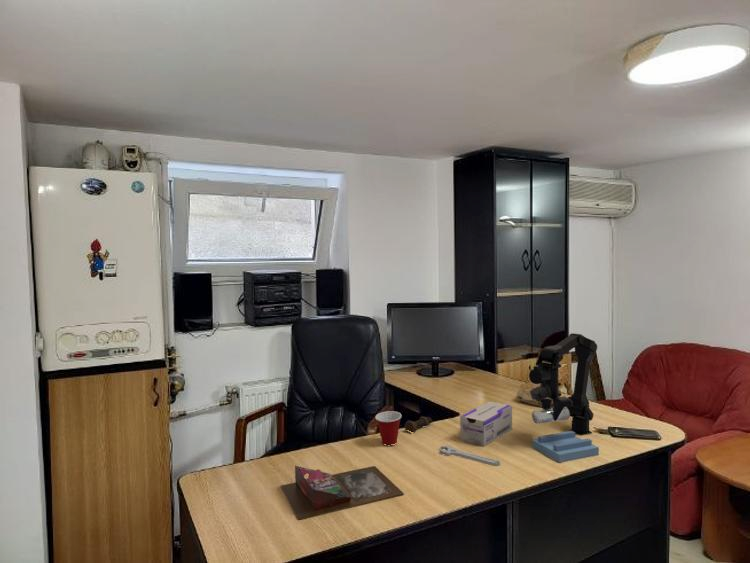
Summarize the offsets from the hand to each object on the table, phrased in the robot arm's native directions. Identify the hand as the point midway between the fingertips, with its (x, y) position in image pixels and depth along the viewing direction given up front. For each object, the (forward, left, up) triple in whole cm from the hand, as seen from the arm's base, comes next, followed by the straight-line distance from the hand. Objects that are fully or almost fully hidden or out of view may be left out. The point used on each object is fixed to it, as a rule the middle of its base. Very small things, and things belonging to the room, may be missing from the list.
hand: (551, 418), depth 199 cm
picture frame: (+89, +6, -12) cm, 90 cm away
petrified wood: (-29, -46, -11) cm, 55 cm away
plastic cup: (+60, -25, -11) cm, 66 cm away
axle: (0, 0, -1) cm, 1 cm away
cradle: (0, +8, -10) cm, 13 cm away
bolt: (+41, -37, -11) cm, 56 cm away
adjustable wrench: (+37, -1, -11) cm, 39 cm away
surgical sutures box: (+18, -19, -11) cm, 28 cm away
